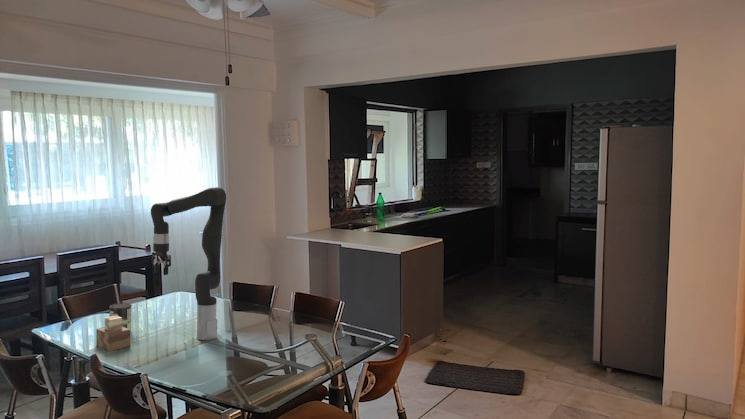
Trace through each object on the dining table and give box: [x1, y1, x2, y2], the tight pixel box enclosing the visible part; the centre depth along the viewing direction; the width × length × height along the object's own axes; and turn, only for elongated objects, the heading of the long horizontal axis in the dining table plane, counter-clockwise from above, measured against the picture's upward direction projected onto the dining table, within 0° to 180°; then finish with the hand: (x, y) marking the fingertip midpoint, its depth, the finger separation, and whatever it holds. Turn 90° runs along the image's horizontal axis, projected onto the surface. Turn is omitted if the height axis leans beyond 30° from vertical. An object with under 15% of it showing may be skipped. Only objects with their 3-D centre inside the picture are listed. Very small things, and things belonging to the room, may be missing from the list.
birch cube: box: [104, 315, 122, 332], centre depth 254 cm, size 6×6×6 cm
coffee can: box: [108, 302, 133, 334], centre depth 274 cm, size 10×10×14 cm
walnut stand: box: [95, 326, 131, 352], centre depth 254 cm, size 12×10×8 cm
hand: (161, 273), depth 276 cm, fingers open, 8 cm apart
